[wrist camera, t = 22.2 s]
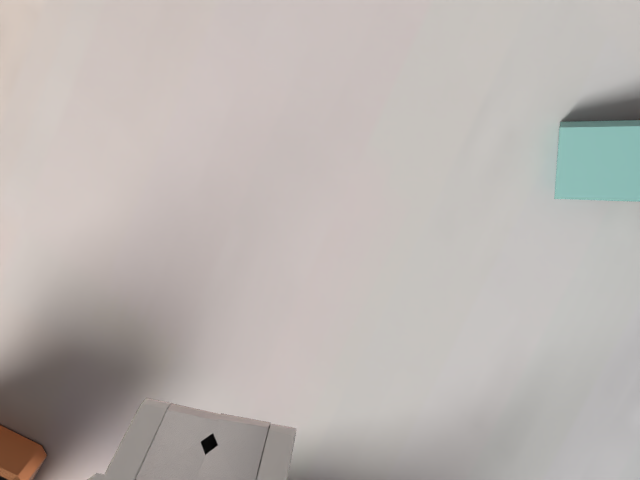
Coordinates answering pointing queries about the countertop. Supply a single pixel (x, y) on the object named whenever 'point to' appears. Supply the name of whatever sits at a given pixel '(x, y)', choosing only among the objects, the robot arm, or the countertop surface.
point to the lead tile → (599, 160)
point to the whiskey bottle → (19, 456)
